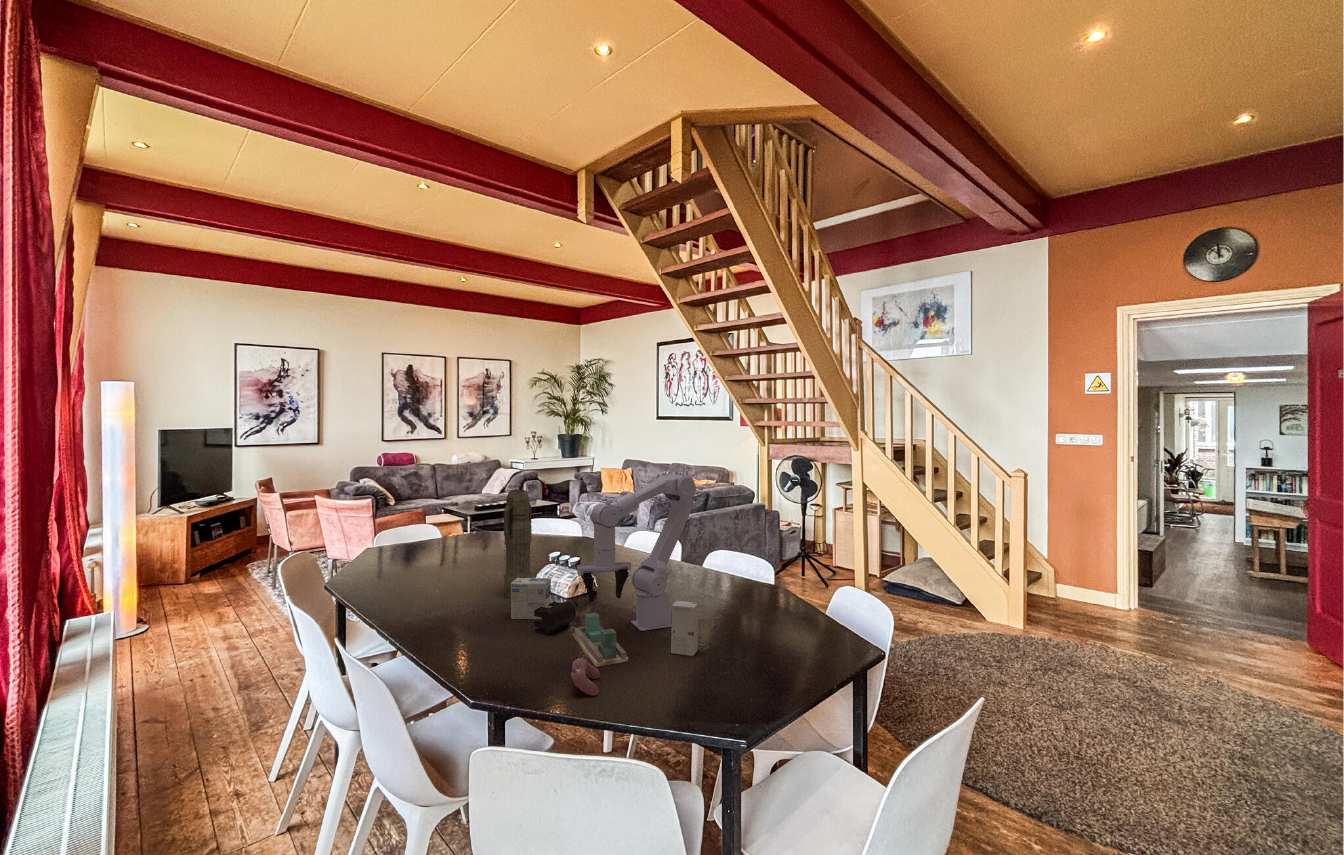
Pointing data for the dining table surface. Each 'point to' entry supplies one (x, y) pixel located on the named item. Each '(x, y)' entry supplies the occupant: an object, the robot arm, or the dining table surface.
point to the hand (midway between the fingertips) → (604, 599)
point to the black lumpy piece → (554, 616)
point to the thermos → (517, 537)
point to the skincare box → (684, 628)
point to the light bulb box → (529, 596)
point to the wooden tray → (601, 647)
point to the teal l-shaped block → (592, 627)
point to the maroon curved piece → (579, 676)
